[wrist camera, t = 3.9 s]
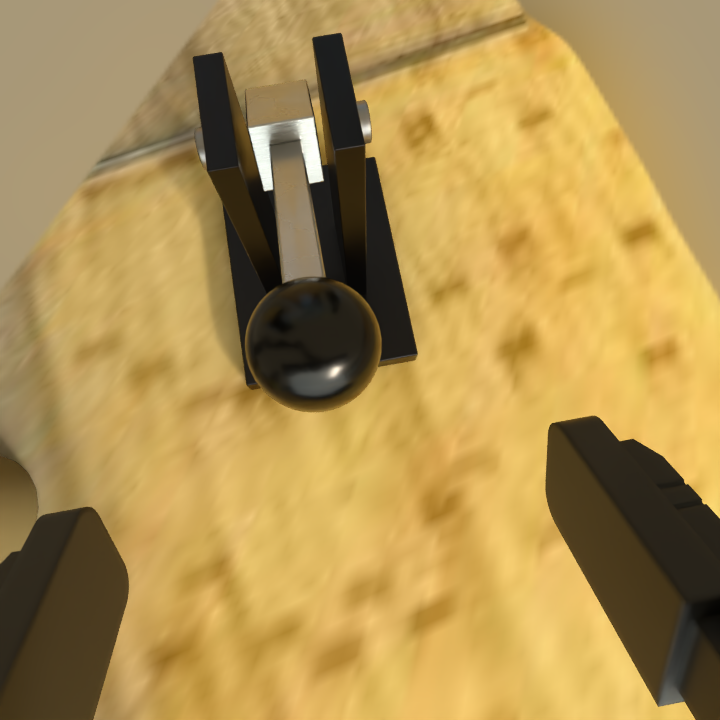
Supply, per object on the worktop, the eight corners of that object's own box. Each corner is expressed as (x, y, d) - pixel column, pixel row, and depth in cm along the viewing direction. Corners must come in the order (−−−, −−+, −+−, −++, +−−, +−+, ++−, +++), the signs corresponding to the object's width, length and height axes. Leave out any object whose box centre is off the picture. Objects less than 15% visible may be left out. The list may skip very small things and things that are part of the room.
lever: (396, 425, 13) (390, 337, 11) (265, 448, 13) (228, 366, 11) (330, 149, 22) (318, 64, 19) (249, 163, 21) (227, 79, 19)
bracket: (416, 360, 30) (455, 243, 16) (251, 390, 29) (152, 295, 16) (374, 168, 33) (379, -64, 19) (224, 193, 32) (123, -24, 19)
